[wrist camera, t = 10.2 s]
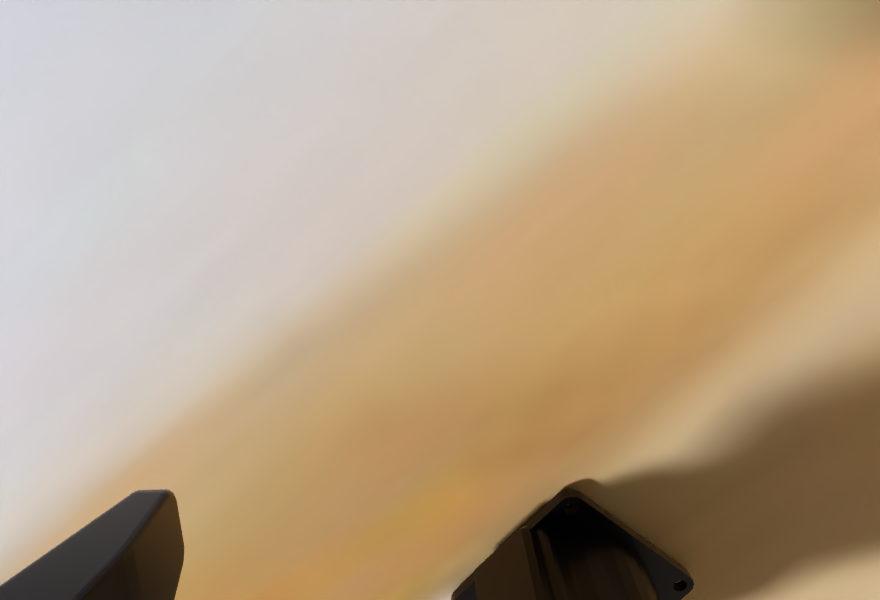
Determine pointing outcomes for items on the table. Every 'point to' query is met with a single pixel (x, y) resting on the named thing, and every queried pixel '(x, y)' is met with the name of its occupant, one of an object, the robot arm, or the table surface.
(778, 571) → the table surface
